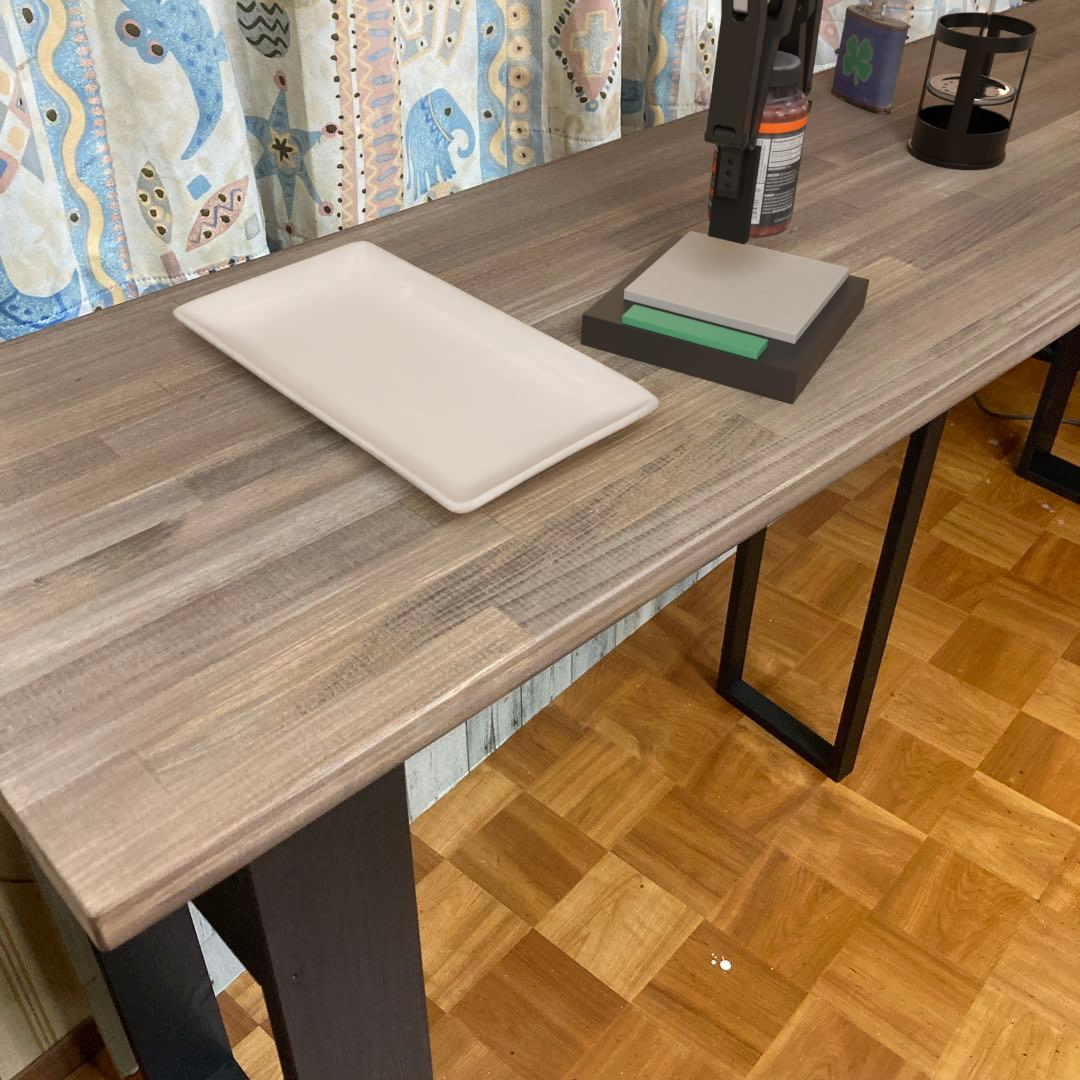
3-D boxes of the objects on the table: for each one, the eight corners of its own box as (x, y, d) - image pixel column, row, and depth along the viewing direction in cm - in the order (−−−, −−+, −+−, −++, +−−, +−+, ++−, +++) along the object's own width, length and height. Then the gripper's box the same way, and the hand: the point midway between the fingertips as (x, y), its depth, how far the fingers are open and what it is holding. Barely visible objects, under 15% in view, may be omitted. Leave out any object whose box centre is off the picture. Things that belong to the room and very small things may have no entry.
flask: (896, 112, 121) (918, 5, 115) (874, 116, 121) (895, 8, 114) (844, 87, 128) (861, -15, 121) (823, 91, 127) (839, -12, 120)
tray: (459, 558, 62) (456, 508, 60) (174, 348, 80) (164, 303, 78) (664, 443, 71) (668, 396, 69) (367, 278, 89) (363, 236, 87)
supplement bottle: (691, 214, 81) (707, 49, 74) (764, 203, 83) (786, 41, 76) (730, 247, 77) (751, 74, 70) (806, 235, 78) (834, 65, 71)
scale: (863, 308, 86) (871, 269, 84) (792, 404, 75) (800, 362, 73) (672, 261, 92) (675, 224, 90) (580, 344, 81) (582, 303, 79)
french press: (996, 178, 107) (1071, -96, 92) (897, 162, 110) (954, -106, 96) (1012, 140, 115) (1083, -117, 101) (919, 125, 118) (975, -126, 104)
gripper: (791, -182, 73) (745, 168, 88) (671, -145, 60) (640, 259, 75) (906, -173, 70) (839, 188, 85) (805, -132, 57) (746, 285, 72)
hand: (746, 220), depth 80 cm, fingers closed on supplement bottle, 6 cm apart
